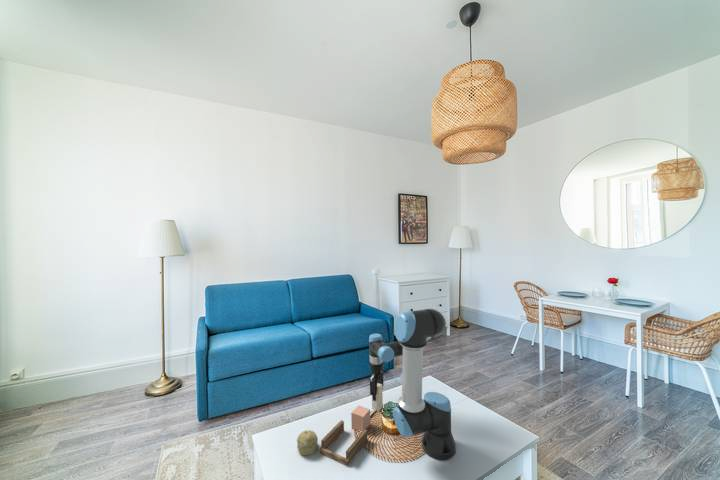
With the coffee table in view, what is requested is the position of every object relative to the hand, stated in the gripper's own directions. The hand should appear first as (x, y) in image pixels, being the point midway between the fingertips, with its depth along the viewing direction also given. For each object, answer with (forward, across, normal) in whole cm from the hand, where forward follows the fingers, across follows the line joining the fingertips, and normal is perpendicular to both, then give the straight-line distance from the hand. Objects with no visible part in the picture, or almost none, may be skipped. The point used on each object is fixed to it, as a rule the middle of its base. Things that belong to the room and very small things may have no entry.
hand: (377, 403), depth 157 cm
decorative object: (+3, +43, -14) cm, 45 cm away
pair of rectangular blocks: (+3, +10, 0) cm, 10 cm away
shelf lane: (+3, +33, 0) cm, 33 cm away
